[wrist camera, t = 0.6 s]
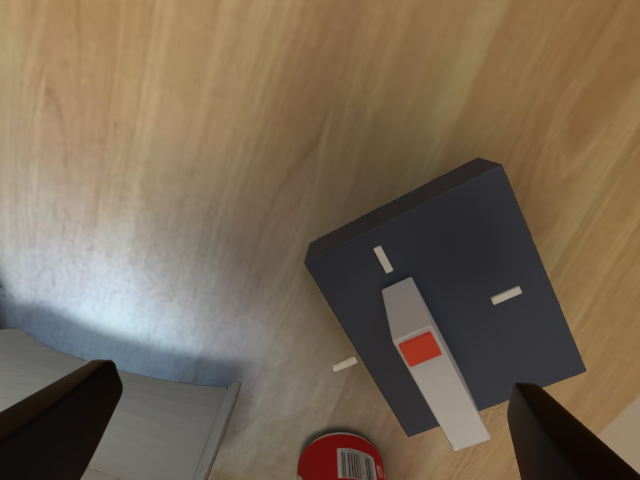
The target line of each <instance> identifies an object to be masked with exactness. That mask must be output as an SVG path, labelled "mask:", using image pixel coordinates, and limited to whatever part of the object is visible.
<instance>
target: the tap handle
mask: <svg viewBox="0 0 640 480" xmlns="http://www.w3.org/2000/svg"><path fill="white" fill-rule="evenodd" d="M382 295H383V299H384V304H385V308H386V313H387V318H388V322H389V327H390V331H391V336H392V340H393V343H394V345H395V347H396V348H397V350H398V352H399V354H400V355H401V357H402V359H403V361H404V363H405V364H406V366H407V368H408V370H409V371H410V373H411V375H412V377H413V379H414V380H415V382H416V384H417V386H418V387H419V389H420V391H421V393H422V395H423V396H424V398H425V400H426V402H427V403H428V405H429V407H430V409H431V411H432V412H433V414H434V416H435V418H436V419H437V421H438V423H439V425H440V427H441V428H442V430H443V432H444V434H445V435H446V437H447V439H448V441H449V443H450V444H451V446H452V448H453V450H454V451H458V450H461V449H464V448H467V447H470V446H472V445H475V444H478V443H481V442H484V441H487V440H489V439H491V437H490V435H489V433H488V431H487V429H486V426H485V424H484V422H483V420H482V418H481V415H480V413H479V411H478V409H477V407H476V405H475V402H474V400H473V398H472V396H471V394H470V391H469V389H468V387H467V385H466V383H465V380H464V378H463V376H462V374H461V372H460V370H459V368H458V366H457V364H456V362H455V360H454V358H453V356H452V354H451V352H450V350H449V348H448V346H447V345H446V343H445V341H444V339H443V337H442V335H441V333H440V331H439V329H438V327H437V325H436V323H435V321H434V319H433V318H432V316H431V314H430V312H429V310H428V308H427V306H426V304H425V302H424V300H423V298H422V296H421V294H420V292H419V290H418V289H417V287H416V285H415V283H414V281H413V279H412V277H409V278H407V279H405V280H403V281H400V282H398V283H396V284H394V285H392V286H390V287H387V288H385V289H383V290H382Z"/></svg>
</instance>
